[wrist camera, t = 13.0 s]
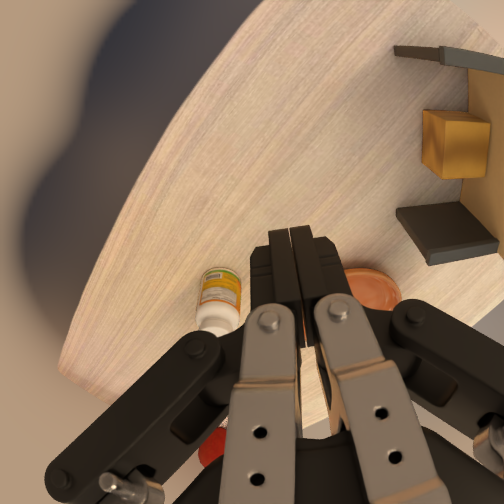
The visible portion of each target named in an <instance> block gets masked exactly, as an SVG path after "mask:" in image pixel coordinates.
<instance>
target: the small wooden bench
mask: <svg viewBox="0 0 504 504" xmlns="http://www.w3.org/2000/svg"><path fill="white" fill-rule="evenodd" d="M394 52H395V56H399V57H409V58H417V59H424V60H431V61H437V62H440V64H441V65H448V66H455V67H462V68H468V113H470V114H472V115H474V116H476V117H478V118H481V119H483V120H485V121H487V122H489V123H490V137H489V148H488V157H487V165H486V172H485V177H480V178H463V182H462V189H461V196H460V202H450V203H441V204H431V205H422V206H413V207H404V208H397V209H396V217H397V219H398V220H399V221H400V223H401V224H402V226H403V227H404V228H405V230H406V231H407V233H408V234H409V236H410V237H411V239H412V240H413V242H414V243H415V245H416V246H417V248H418V249H419V251H420V252H421V254H422V255H423V257H424V258H425V260H426V263H427V265H428V266H433V265H438V264H443V263H449V262H454V261H459V260H464V259H469V258H474V257H479V256H484V255H489V254H493V253H499V255H500V256H501V257H502V258H503V259H504V58H500V57H496V56H492V55H488V54H484V53H479V52H474V51H469V50H464V49H458V48H452V47H446V46H439V48H432V47H418V46H394Z"/></svg>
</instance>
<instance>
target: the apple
mask: <svg viewBox="0 0 504 504" xmlns="http://www.w3.org/2000/svg"><path fill="white" fill-rule="evenodd" d="M226 432H227V430H226V429H224V428H220V427H217V428H216V429H215V430H214V432H213V433H212V434H211V435H210V436H209V437H208V438H207V439H206V440H205V441H204V443H203V444H202V445H201V446H200V447H199V451H198V456H199V460H200V463H201V464H202V465H203V466H204V467H206V466H207V465H209V464H210V463H211V462H212V461H213V460H215V459H216V458H218V457H219V456H221V455H223V454H224V450H225V441H226Z"/></svg>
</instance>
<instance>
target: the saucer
mask: <svg viewBox="0 0 504 504" xmlns="http://www.w3.org/2000/svg"><path fill="white" fill-rule="evenodd" d="M344 272H345V274H346V277H347V280H348V283H349V286H350V289H351V292H352V294H353V296H354V298H356V299H357V300H358V301H359V302H360V303H361V304H362V305H363V306H365V307H368V308H371V309H376V310H388V311H393V308H394V307H395V306H396V305H397V304H398V303H399V302H401V301H402V298H401V293H400V290H399V288H398V286H397V285H396V283H395V282H394V281H393V280H392V279H391V278H390V277H389V276H388V275H386V274H384V273H382V272H380V271H377V270H373V269H367V268H354V269H346V270H344ZM303 324H304V321H303ZM304 335H305V340H306V334H305V327H304ZM306 341H307V340H306Z"/></svg>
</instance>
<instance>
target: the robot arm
mask: <svg viewBox="0 0 504 504" xmlns="http://www.w3.org/2000/svg"><path fill="white" fill-rule="evenodd" d="M289 229H290V237H291V242H290V237H289V232H288V228H285V229H279V230H272V231H268V236H269V245H266V246H259V247H255V249H254V251H253V253H252V254H251V256H250V277H251V278H250V295H251V310H250V313H249V315H248V316H247V318H246V320H245V323H244V324H243V325H242V326H241V327H240V328H238V329H236V330H235V331H232V332H230V333H228V334H225V335H223V336H220V337H217V336H216V335H215V334H213V333H211V332H209V331H204V330H199V331H193V332H190V333H188V334H186V335H184V336H183V337H182V338H181V339H179V340H178V341H177V342H176V343H175V344H174V345H173V346H172V347H171V348H170V349H169V350H168V351H167V352H166V353H165V354H164V355H163V356H162V357H161V358H160V359H159V360H158V361H157V362H156V363H155V364H154V365H153V366H152V367H151V368H150V369H148V370H147V371H146V372H145V373H144V374H143V375H142V376H141V377H140V378H139V379H138V380H137V381H136V382H135V383H134V384H133V385H132V386H131V387H130V388H129V389H128V390H127V391H126V392H125V393H124V394H123V395H121V396H120V397H119V398H118V399H117V400H116V401H115V402H114V403H113V404H112V405H111V406H110V407H109V408H108V409H107V410H106V411H105V412H104V413H103V414H102V415H101V416H100V417H98V418H97V419H96V420H95V421H94V422H93V423H92V424H91V425H90V426H89V427H88V428H87V429H86V430H85V431H84V432H83V433H82V434H81V435H80V436H78V437H77V438H76V439H75V441H73V442H72V443H71V444H70V445H69V446H68V447H67V448H66V449H65V450H64V451H63V452H61V454H59V455H58V456H57V457H56V458H55V459H54V460H53V461H52V462H51V463H50V464H49V466H48V467H47V469H46V472H45V479H44V480H45V486H46V489H47V491H48V493H49V494H50V496H51V497H52V498H53V499H55V500H56V501H58V502H61V503H64V504H164V501H165V494H164V490H163V488H162V485H163V484H164V483H165V482H166V481H167V480H168V479H169V478H170V477H171V476H172V475H173V474H174V473H175V472H176V471H177V470H178V469H179V468H180V467H181V466H182V465H183V464H184V463H185V461H186V460H187V459H188V458H189V457H190V456H191V455H192V454H193V453H194V452H195V451H196V450H197V449H198V448H199V447H200V446H201V445H202V444H203V443H204V441H205V440H206V439H207V438H208V437H209V436H210V435H211V434H212V433H213V432H214V430H215V429H216V428H217V427H218V426H219V425H220V424H221V423H222V422H223V420H224V419H225V418H226V417H227V416H228V423H227V432H226V441H225V450H224V454H223V455H221V456H219V457H218V458H216V459H215V460H213V461H212V462H211V463H210V464H209V465H207V466H206V467H205V468H204V469H203V470H202V472H201V473H200V474H199V475H198V476H197V477H196V478H195V479H194V481H193V482H192V483H191V484H190V485H189V486H188V487H187V488H186V490H185V491H184V492H183V493H182V494H181V495H180V496H179V497H178V498H177V499H176V500H175V501H174V502H173V503H172V504H504V346H503V345H501V344H499V343H497V342H496V341H494V340H492V339H491V338H489V337H487V336H485V335H484V334H482V333H480V332H478V331H476V330H475V329H473V328H471V327H470V326H468V325H466V324H464V323H463V322H461V321H459V320H457V319H455V318H454V317H452V316H450V315H448V314H446V313H445V312H443V311H441V310H439V309H437V308H436V307H434V306H432V305H430V304H428V303H426V302H424V301H422V300H418V299H407V300H403V301H401V302H399V303H398V304H397V305H396V306H395V307H394V308H393V311H388V310H376V309H371V308H368V307H365V306H363V305H362V304H361V303H360V302H359V301H358V300H357V299H356V298H354V296H353V294H352V292H351V289H350V286H349V283H348V280H347V277H346V274H345V272H344V269H343V266H342V264H341V260H340V258H339V256H338V252H337V250H336V247H335V244H334V243H333V242H332V241H330V240H329V239H328V238H327V237H326V236H324V237H318V238H313V235H312V232H311V229H310V226H309V225H305V226H298V227H291V228H289ZM291 245H292V247H291ZM303 321H304V324H303ZM304 327H305V334H306V340H307V346H308V347H311V346H314V347H315V353H316V366H317V370H318V374H319V378H320V382H321V386H322V390H323V394H324V398H325V402H326V406H327V411H328V415H329V422H330V430H331V435H332V436H330V437H328V438H325V439H320V440H319V439H307V438H303V434H302V404H301V370H300V367H301V364H302V359H301V350H300V348H305V347H306V346H305V335H304ZM411 400H412V401H414V402H416V403H417V404H418V405H420V406H422V407H423V408H424V409H426V410H427V411H429V412H431V413H432V414H433V415H435V416H437V417H438V418H440V419H441V420H443V421H444V422H446V423H447V424H449V425H451V426H452V427H454V428H455V429H457V430H458V431H460V432H461V433H463V434H464V435H466V436H468V437H469V438H471V439H472V440H474V442H473V454H474V457H475V458H476V459H477V460H478V461H479V462H480V463H482V464H483V465H481V464H480V463H479V462H477V461H476V460H474V459H473V458H471V457H470V456H468V455H467V454H466V453H464V452H463V451H461V450H460V449H458V448H457V447H456V446H454V445H453V444H451V443H450V442H449V441H447V440H446V439H444V438H443V437H442V436H440V435H439V434H437V433H436V432H434V431H432V430H430V429H428V428H426V427H423V426H421V425H420V423H419V420H418V417H417V414H416V412H415V409H414V407H413V404H412V401H411Z"/></svg>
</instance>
